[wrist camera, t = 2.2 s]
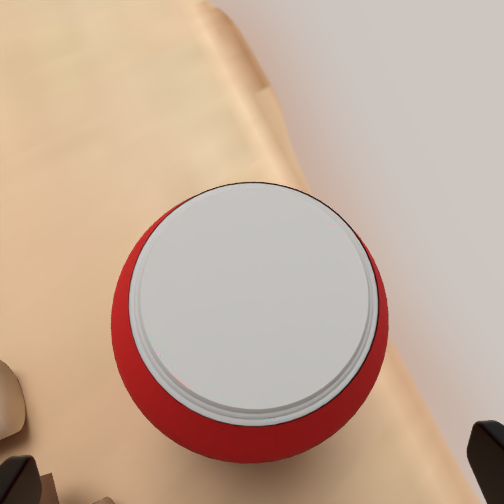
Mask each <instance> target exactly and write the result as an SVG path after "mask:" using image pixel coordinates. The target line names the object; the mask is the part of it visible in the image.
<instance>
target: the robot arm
mask: <svg viewBox="0 0 504 504" xmlns="http://www.w3.org/2000/svg"><path fill="white" fill-rule="evenodd" d="M467 458H468V461H469V464H470V466H471V468H472V470H473V473H474V475H475V477H476V479H477V482H478V484H479V486H480V488H481V491H482V493H483V495H484V498H485V500H486V502H487V504H504V425H502V424H501V423H499V422H497V421H494V420H488V421H478V422H476V423H475V424H474V425H473V427H472V431H471V435H470V439H469V442H468V446H467ZM41 496H42V482H41V478H40V475H39V472H38V468H37V465H36V462H35V459H34V457H33V456H31V455H22V456H12V457H9V458H8V459H6V460H5V461H4V462H3V463H2V464H1V465H0V504H40V500H41Z"/></svg>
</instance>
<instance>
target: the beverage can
mask: <svg viewBox="0 0 504 504" xmlns="http://www.w3.org/2000/svg"><path fill="white" fill-rule="evenodd" d="M111 335H112V345H113V351H114V356H115V360H116V363H117V367H118V370H119V373H120V376H121V378H122V380H123V383H124V385H125V387H126V389H127V391H128V392H129V394H130V396H131V398H132V399H133V401H134V403H135V404H136V405H137V407H138V408H139V409H140V411H141V412H142V413H143V415H144V416H145V417H146V418H147V419H148V420H149V421H150V422H151V423H152V424H153V425H154V426H155V427H156V428H157V429H158V430H160V431H161V432H162V433H163V434H164V435H165V436H167V437H168V438H170V439H171V440H173V441H174V442H176V443H177V444H179V445H181V446H183V447H185V448H187V449H188V450H190V451H192V452H195V453H197V454H200V455H203V456H206V457H208V458H212V459H216V460H221V461H225V462H234V463H264V462H272V461H277V460H281V459H285V458H289V457H292V456H294V455H297V454H300V453H303V452H305V451H307V450H309V449H311V448H313V447H315V446H317V445H319V444H320V443H322V442H323V441H325V440H326V439H328V438H329V437H331V436H332V435H333V434H335V433H336V432H337V431H338V430H339V429H340V428H342V427H343V426H344V425H345V424H346V423H347V422H348V421H349V420H350V419H351V418H352V417H353V416H354V415H355V413H356V412H357V411H358V409H359V408H360V407H361V405H362V404H363V403H364V401H365V400H366V398H367V396H368V395H369V393H370V391H371V390H372V388H373V386H374V384H375V381H376V379H377V377H378V375H379V372H380V369H381V366H382V363H383V360H384V356H385V351H386V346H387V339H388V306H387V298H386V293H385V289H384V285H383V282H382V279H381V276H380V273H379V270H378V268H377V266H376V264H375V261H374V259H373V258H372V256H371V254H370V252H369V250H368V249H367V247H366V246H365V244H364V243H363V241H362V240H361V238H360V237H359V236H358V235H357V234H356V232H355V231H354V230H353V229H352V228H351V227H350V226H349V224H348V223H347V222H346V221H345V220H344V219H343V218H342V217H341V216H340V215H339V214H338V213H336V212H335V211H334V210H332V209H331V208H330V207H329V206H327V205H326V204H324V203H323V202H321V201H320V200H318V199H316V198H314V197H312V196H311V195H309V194H306V193H304V192H302V191H299V190H297V189H293V188H290V187H287V186H283V185H278V184H273V183H265V182H241V183H234V184H227V185H223V186H219V187H216V188H213V189H210V190H207V191H204V192H202V193H200V194H198V195H196V196H194V197H191V198H189V199H187V200H185V201H184V202H182V203H180V204H178V205H177V206H175V207H174V208H172V209H171V210H169V211H168V212H167V213H165V214H164V215H163V216H162V217H161V218H159V219H158V220H157V221H156V222H155V223H154V224H153V225H152V226H151V227H150V228H149V229H148V230H147V231H146V232H145V233H144V235H143V236H142V237H141V238H140V240H139V241H138V242H137V244H136V245H135V247H134V248H133V250H132V252H131V253H130V255H129V257H128V259H127V261H126V263H125V265H124V267H123V269H122V271H121V274H120V277H119V279H118V282H117V286H116V290H115V294H114V298H113V305H112V312H111Z"/></svg>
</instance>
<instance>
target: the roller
mask: <svg viewBox="0 0 504 504" xmlns="http://www.w3.org/2000/svg"><path fill="white" fill-rule="evenodd" d="M24 422H25V402H24V397H23V393H22V390H21V387H20V385H19V382H18V380H17V378H16V376H15V375H14V373H13V372H12V370H11V369H10V368H9V366H8V365H6V364H5V363H4V362H3V361H1V360H0V440H1V439H3V438H5V437H8V436H10V435H12V434H15V433H17V432H19V431H20V430H21V429H22V427H23V425H24Z"/></svg>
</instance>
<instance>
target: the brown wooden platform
mask: <svg viewBox="0 0 504 504" xmlns="http://www.w3.org/2000/svg"><path fill="white" fill-rule="evenodd" d="M40 478H41V482H42V496H41V500H40V504H59V501H58V497H57V493H56V489H55V484H54V480H53V476H52V473H50V474H46V475H43V476H40ZM93 504H115V503H114V502H113V500H112V499H110V498H109V497H105V498H103V499H101V500H99V501H97V502H95V503H93Z"/></svg>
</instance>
